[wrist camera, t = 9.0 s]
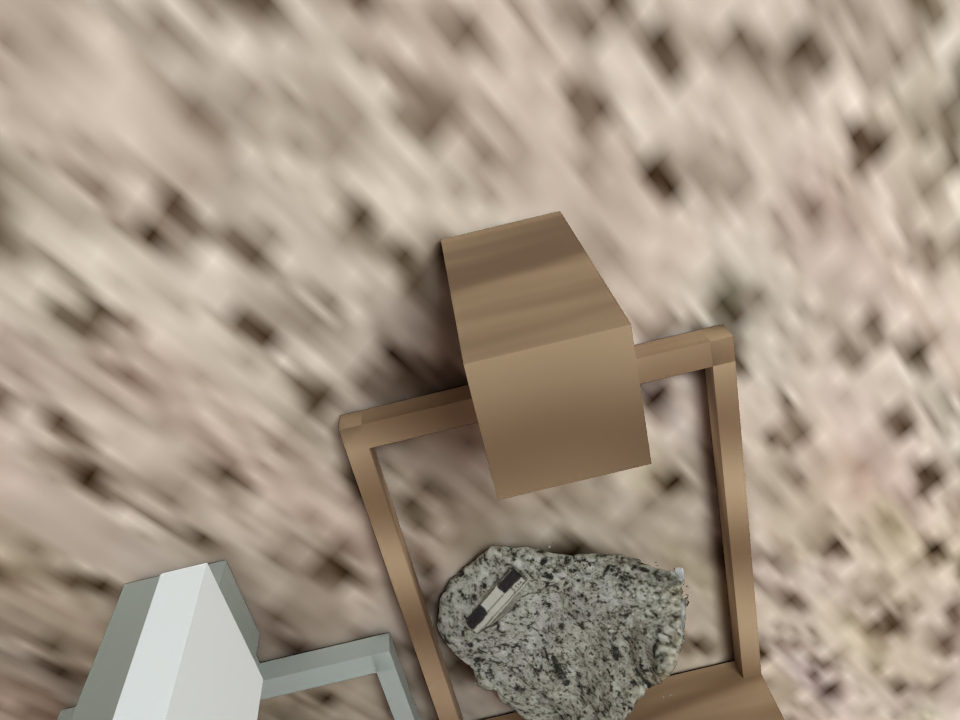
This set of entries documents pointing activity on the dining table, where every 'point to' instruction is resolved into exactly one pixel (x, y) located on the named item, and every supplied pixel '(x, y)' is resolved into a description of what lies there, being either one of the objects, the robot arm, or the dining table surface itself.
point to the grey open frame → (278, 675)
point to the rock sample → (565, 630)
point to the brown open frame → (564, 431)
